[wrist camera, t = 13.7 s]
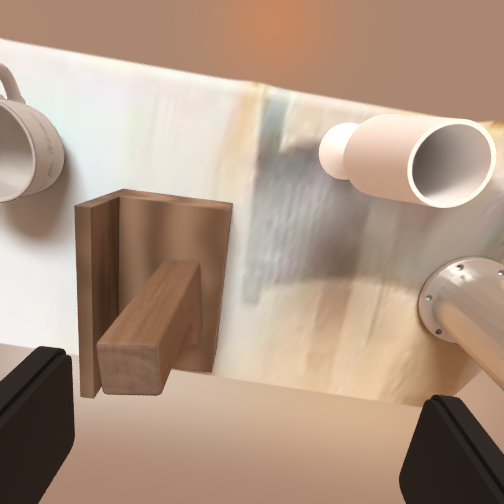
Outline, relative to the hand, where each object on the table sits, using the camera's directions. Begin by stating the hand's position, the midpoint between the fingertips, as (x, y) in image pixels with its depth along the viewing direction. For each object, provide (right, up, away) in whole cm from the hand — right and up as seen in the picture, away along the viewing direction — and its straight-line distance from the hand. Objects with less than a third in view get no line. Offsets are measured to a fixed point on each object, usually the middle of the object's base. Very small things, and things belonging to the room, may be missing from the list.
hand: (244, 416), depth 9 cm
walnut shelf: (-11, +1, +38) cm, 40 cm away
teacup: (-26, +19, +33) cm, 46 cm away
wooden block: (-8, -1, +34) cm, 35 cm away
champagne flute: (+12, +16, +33) cm, 38 cm away
